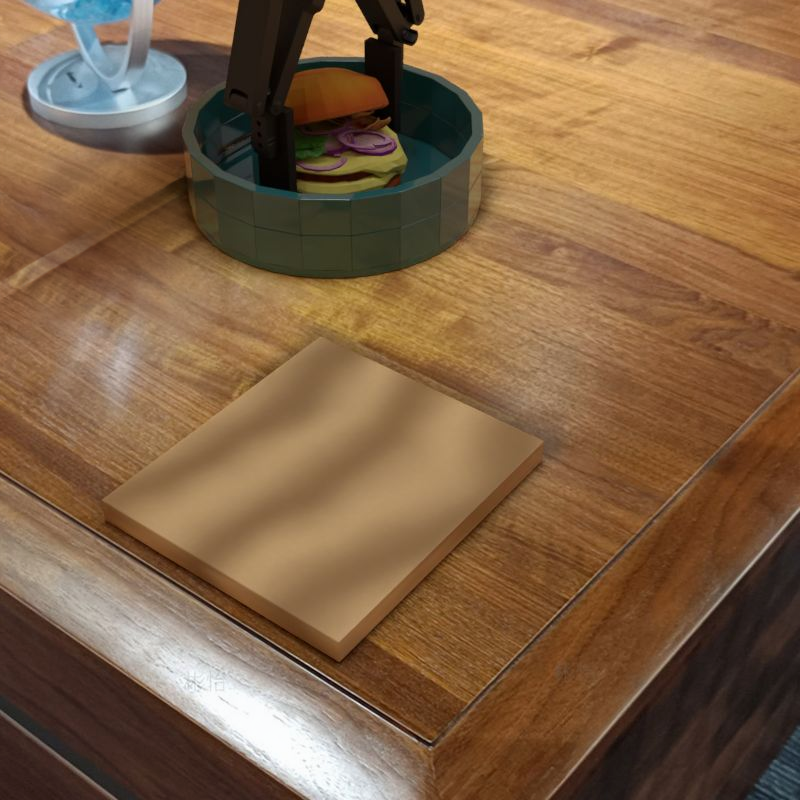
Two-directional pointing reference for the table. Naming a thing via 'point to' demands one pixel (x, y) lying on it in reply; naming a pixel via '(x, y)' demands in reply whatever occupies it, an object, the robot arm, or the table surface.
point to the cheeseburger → (342, 133)
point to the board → (325, 492)
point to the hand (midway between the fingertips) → (332, 158)
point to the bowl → (340, 213)
